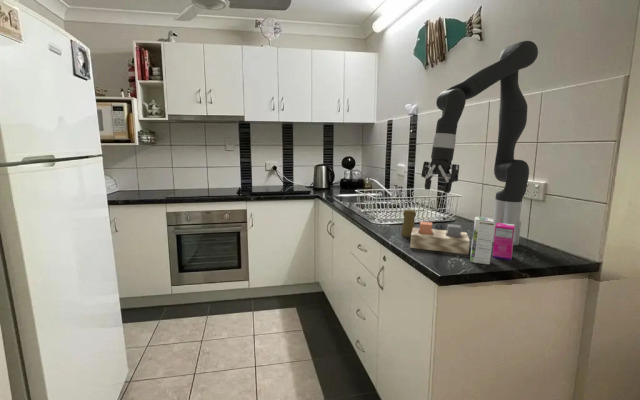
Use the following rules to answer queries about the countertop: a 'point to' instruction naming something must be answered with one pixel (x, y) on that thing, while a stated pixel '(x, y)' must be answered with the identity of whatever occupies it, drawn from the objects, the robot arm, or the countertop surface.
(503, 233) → the supplement box
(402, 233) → the cork
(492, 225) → the syrup box
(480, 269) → the countertop surface
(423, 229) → the terracotta plug
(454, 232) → the grey plug
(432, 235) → the block
